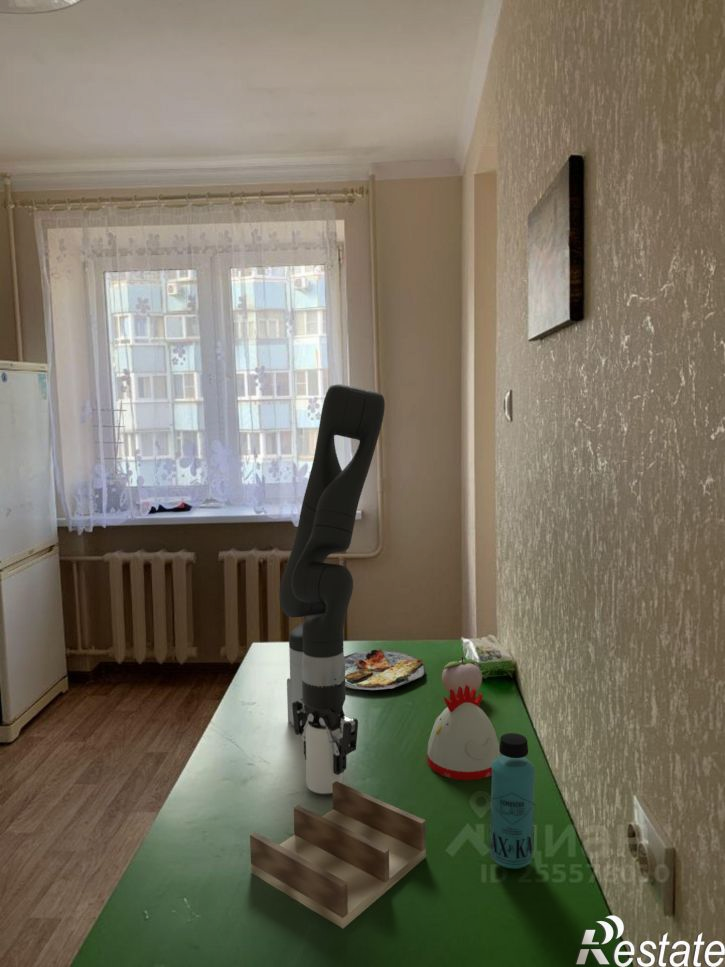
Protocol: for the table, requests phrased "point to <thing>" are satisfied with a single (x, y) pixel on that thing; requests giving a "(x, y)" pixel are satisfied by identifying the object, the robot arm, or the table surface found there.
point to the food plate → (382, 669)
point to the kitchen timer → (463, 739)
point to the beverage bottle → (512, 804)
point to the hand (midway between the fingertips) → (324, 765)
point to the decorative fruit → (462, 675)
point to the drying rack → (342, 854)
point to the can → (320, 759)
